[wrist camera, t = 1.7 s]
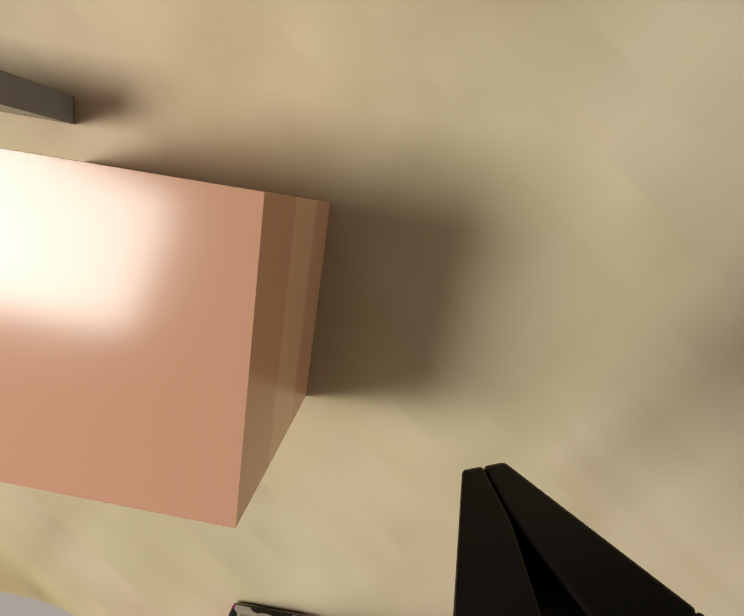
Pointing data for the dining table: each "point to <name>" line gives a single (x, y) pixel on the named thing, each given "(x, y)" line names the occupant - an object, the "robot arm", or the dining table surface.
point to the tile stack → (151, 333)
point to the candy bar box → (257, 611)
